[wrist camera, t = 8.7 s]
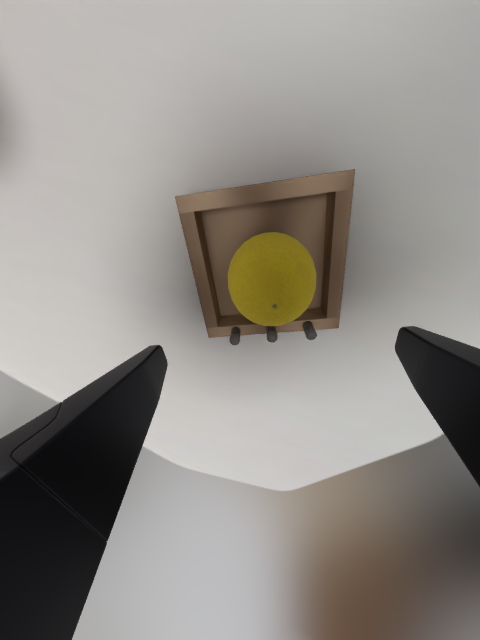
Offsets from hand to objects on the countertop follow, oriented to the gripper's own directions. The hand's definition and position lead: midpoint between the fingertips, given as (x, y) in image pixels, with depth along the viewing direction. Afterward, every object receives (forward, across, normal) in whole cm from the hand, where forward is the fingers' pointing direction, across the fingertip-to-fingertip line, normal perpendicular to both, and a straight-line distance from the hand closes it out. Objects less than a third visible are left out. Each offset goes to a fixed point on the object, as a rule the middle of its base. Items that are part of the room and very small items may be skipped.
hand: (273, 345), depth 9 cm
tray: (+12, 0, 0) cm, 12 cm away
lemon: (+11, 0, 0) cm, 11 cm away
